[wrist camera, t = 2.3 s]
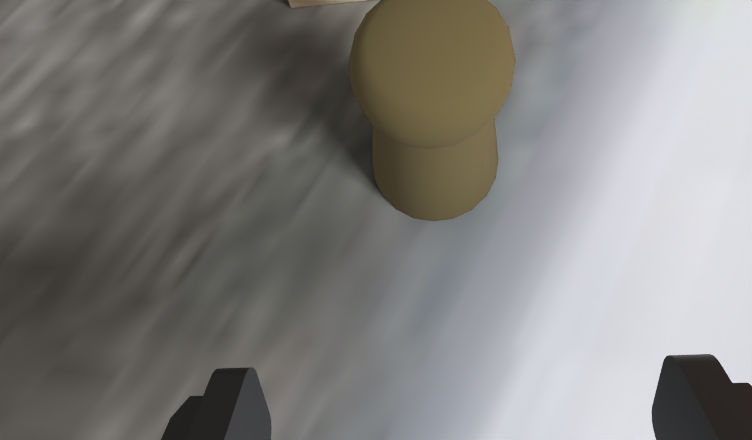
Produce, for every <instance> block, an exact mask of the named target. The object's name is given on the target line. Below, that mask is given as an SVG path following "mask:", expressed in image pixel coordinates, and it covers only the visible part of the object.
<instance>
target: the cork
mask: <svg viewBox="0 0 752 440" xmlns="http://www.w3.org/2000/svg"><path fill="white" fill-rule="evenodd" d="M515 61H516V59H515V54H514V50H513V45H512V40H511V35H510V31H509V27H508V26H507V24H506V23H505V21H504V19H503V18H502V16H501V14H500V13H499V11H498V9H497V8H496V7H495V6H494V5H492V4H491V3H490V2H489V1H488V0H381V1H380V2H379V3H377V4H376V5H375V6H374V7H373V8H372V9H371V10H370V11H369V12H368V13H367V14H366V15H365V17H364V19H363V21H362V22H361V24H360V26H359V27H358V29H357V31H356V32H355V35H354V40H353V45H352V49H351V54H350V60H349V70H350V78H351V86H352V90H353V92H354V95H355V97H356V99H357V101H358V103H359V105H360V107H361V109H362V111H363V113H364V115H365V117H366V118H367V119H368V120H369V121H371V122H372V123H373V136H372V164H373V172H374V179H375V181H376V183H377V185H378V187H379V189H380V191H381V193H382V195H383V196H384V197H385V198H386V199H387V200H388V201H389V202H390V203H391V204H392V205H393V206H394V207H395V208H396V209H397V210H399V211H401V212H403V213H405V214H407V215H409V216H411V217H413V218H417V219H423V220H429V221H439V220H446V219H453V218H455V217H458V216H460V215H462V214H464V213H466V212H468V211H470V210H472V209H473V208H474V207H475V206H476V205H477V204H478V203H479V202H480V201H481V200H482V199H483V198H484V197H486V195H487V194H488V192H489V190H490V188H491V186H492V184H493V182H494V180H495V178H496V171H497V165H498V151H497V140H496V130H495V119H494V117H495V116H496V115H497V114H498V113H499V111H500V109H501V107H502V105H503V103H504V102H505V100H506V98H507V96H508V94H509V92H510V89H511V86H512V80H513V74H514V67H515Z"/></svg>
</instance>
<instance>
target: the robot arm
mask: <svg viewBox="0 0 752 440" xmlns="http://www.w3.org/2000/svg"><path fill="white" fill-rule="evenodd" d="M652 423H653V429H654V433H655V437H656V440H752V386H751V385H750V384H749V383H732V382H731V380H730V379H729V377H728V375H727V374H726V372H725V371H724V369H723V367H722V366H721V364H720V363H719V361H718V360H717V359H716V358H715V357H714V356H713V355H710V354H701V355H670V356H667V357H666V358H665V359H664V362H663V365H662V369H661V373H660V377H659V382H658V386H657V390H656V394H655V398H654V402H653V406H652ZM161 440H271V418H270V413H269V410H268V407H267V404H266V401H265V397H264V394H263V391H262V388H261V385H260V382H259V379H258V376H257V373H256V371H255V369H254V368H223V369H216V370H215V371H214V372H213V374H212V376H211V378H210V380H209V383H208V385H207V388H206V390H205V393H204V396H190V397H189V398H188V399H187V400H186V401H185V402H184V404H183V405H182V406H181V407H180V408H179V409H178V410H177V411H176V413H175V414H174V415H173V416H172V417H171V418H170V421H169V423H168V425H167V427H166V430H165V432H164V434H163V436H162V439H161Z"/></svg>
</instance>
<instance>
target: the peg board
mask: <svg viewBox="0 0 752 440" xmlns="http://www.w3.org/2000/svg"><path fill="white" fill-rule="evenodd" d="M355 1H365V0H288V2H289V4H290V6H291V8H298V7H307V6H317V5H327V4H336V3H346V2H355Z"/></svg>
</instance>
